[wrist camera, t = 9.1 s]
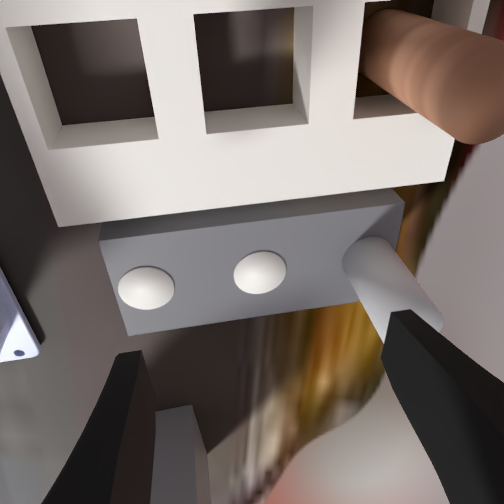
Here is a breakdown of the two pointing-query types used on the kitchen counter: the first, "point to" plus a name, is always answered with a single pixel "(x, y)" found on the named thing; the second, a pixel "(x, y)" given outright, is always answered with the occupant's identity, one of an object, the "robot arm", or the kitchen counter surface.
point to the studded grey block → (263, 262)
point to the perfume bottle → (179, 459)
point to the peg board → (220, 116)
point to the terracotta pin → (437, 72)
